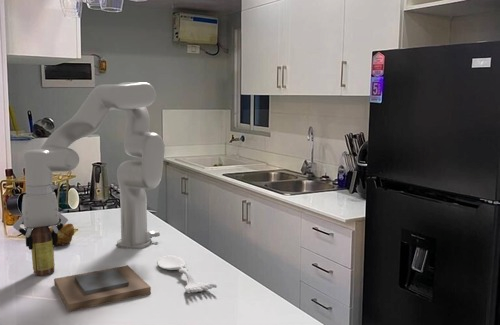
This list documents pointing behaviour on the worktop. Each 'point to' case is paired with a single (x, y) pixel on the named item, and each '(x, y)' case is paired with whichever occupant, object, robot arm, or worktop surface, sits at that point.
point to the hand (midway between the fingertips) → (42, 246)
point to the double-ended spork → (178, 264)
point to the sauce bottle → (42, 251)
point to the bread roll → (65, 234)
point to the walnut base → (100, 287)
